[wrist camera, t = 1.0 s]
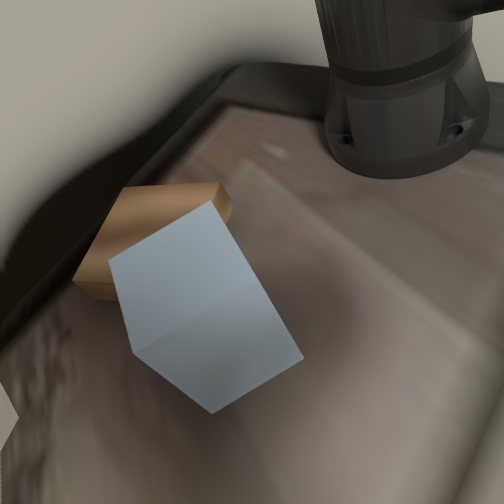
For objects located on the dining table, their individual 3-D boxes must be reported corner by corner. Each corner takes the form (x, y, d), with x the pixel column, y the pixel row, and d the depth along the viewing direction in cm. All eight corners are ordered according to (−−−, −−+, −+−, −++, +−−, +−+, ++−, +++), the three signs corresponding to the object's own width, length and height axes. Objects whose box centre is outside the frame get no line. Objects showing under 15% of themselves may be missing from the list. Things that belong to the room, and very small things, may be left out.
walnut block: (142, 211, 50) (123, 187, 47) (235, 208, 45) (220, 181, 42) (96, 301, 43) (71, 280, 40) (198, 309, 38) (178, 286, 36)
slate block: (181, 332, 37) (108, 260, 29) (260, 285, 37) (210, 199, 29) (212, 414, 32) (133, 353, 24) (304, 358, 32) (257, 279, 24)
